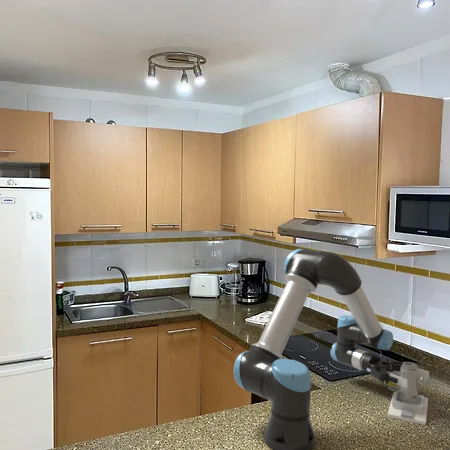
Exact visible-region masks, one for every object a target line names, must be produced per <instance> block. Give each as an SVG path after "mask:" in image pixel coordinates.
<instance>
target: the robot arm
mask: <svg viewBox="0 0 450 450" xmlns="http://www.w3.org/2000/svg"><path fill="white" fill-rule="evenodd" d="M283 265H284V268H283V271H284V275H285V276H284V279H285V281H286V284H285V286H284V288H283V290H282V292H281V294H280V296H279V298H278V300H277V302H276V305H275V307H274V308H273V311H272V313H271V315H270V316H269V319H268V320H267V321H268V322H266V325H265V328H264V329H263V331H262V334H261V336H260V338H259V340H258V341H257V342H256V343H252V344H251V345H250V348H249V349H248V350H246V351H243V352H242V353H241V352H240V353H239V355H237V357H236V359H235V362H234V365H233V375H234V376H233V378H234V381H235V383H236V384H237V386H239V387H240V388H242V389H243V390H245V391H247V392H248V393H252V394H255V395H257V396H259V397H261V398H263V399H266V400H267V401H270V402H271V403H270V407H271V408H270V416H269V418H268V421H267V424H266V426H265V430H264V442H265V443H266V445H267V446H268V447H270V448H271V449H272V450H312V449H314V448H315V444H316V443H315V442H316V435H315V432H314V428H313V424H312V422H311V421H312V420H311V415H310V412H311V391H312V389H311V388H312V380H311V378H312V377H311V372H310V369H309V368H308V366H306V365H305V364H304V363H302V362H300V361H297V360H295V359H289V358H283V356H282V354H283V351H284V350H285V347H286V345H287V343H288V340H289V338H290V336H291V333H292V331H293V329H294V328H295V326H296V323H297V321H298V318H299V317H300V314H301V312H302V310H303V307H304V305H305V304H306V301H307V299H308V296H309V294H312V293H314V292H316V291H317V287H318V285H325V286H328V287H331V288H333V289H334V291H335V293H336V294H337V295H338V296H339V295H340V296H341V297H342V299H343V301H344V303H345V305H346V307H347V308H348V310H349V312H350V313H351V315H347V314H345V315H344V314H343V315H340V316H339V317H338V318H337V327H336V328H337V332H336V333H337V337H336V339H337V341H336V342H335V343H333V344H332V346H331V349H330V357H331V358H332V360H333V361H336V362H338V363H340V364H343V365H345V366H348V367H352V368H355V369H357V370H358V371H359V372H361V371H363V372H365V373H368V374H370V375H372V376H373V377H374V378H375V379H377V380H378V381H380V382H381V383H385V384H386V385H388V383H389V382H392V383H394V384H397V385H400V386H403V387H405V388H408V380H407V379H405V378H402V377H399V376H396V375H393V374H390V376H389V372H393V371H400V372H401V366H402V365H403V362H404V361H396V360H392V359H390V358H389V359H386V360H381V358H380V356H379V355H378V354H376V353H372V352H369V351H366V350H363V349H360V348H357V344H358V345H359V344H360V345H364V346H367V347H371V348H373V349H374V348H375V349H379V350H383V351H389V350H390V349H391V348H392V346H393V343H394V334H393V332H392V331H390V330H387V329H386V328H385V329H384V328H383V326H382V325H381V322H380V321H379V319H378V317H377V315H376V313H375V312H374V309H373V307H372V305H371V303H370V301H369V299H368V298H367V296H366V293H365V291H364V289H363V287H362V283H363V282H362V279H361V277H360V275H359V273H358V271H357V270H356V269H355V267H354V266H353V265H352V264H351V263H350V262H349V261H348V260H347V259H345V258H344V257H343V256H341V255H339V254H338V253H335V252H333V251H322V250H312V249H308V248H303V249H302V248H298V249H294V250H293V251H291V252H290V253H289V254H288V255H287V256H286V259H285V261H284V264H283ZM418 369H419V377H420V378H422V379H426V380H429V379H430V377H429V376H430V371H429V370H425V369H422V368H419V367H418Z"/></svg>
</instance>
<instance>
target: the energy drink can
mask: <svg viewBox="0 0 450 450" xmlns="http://www.w3.org/2000/svg"><path fill="white" fill-rule="evenodd" d="M402 362H403V365H402V366H401V373H400V377H402V378H405V379H407V380H408V388H405V387H403V386H400V402H405V403H410V404H415V405H418V395H419V380H420V379H419V369H420V368H419V367H418V364H417V363H415V362H411V361H402ZM418 368H419V369H418Z"/></svg>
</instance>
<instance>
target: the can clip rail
mask: <svg viewBox="0 0 450 450" xmlns="http://www.w3.org/2000/svg"><path fill="white" fill-rule="evenodd" d="M428 403H429V398H428V397H424V395H421V394H420V395H419V394H418V405H415V404H410V403H405V402H400V391H396V392H395V391H392V397H391V399H390V404H389V407H388V410H387V411H388V412H387V417H388V418H392V419H397V420H401V421H405V422H410V423H414V424H419V425H423V426H426V425H427V417H428Z"/></svg>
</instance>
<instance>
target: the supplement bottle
mask: <svg viewBox="0 0 450 450" xmlns="http://www.w3.org/2000/svg"><path fill="white" fill-rule="evenodd" d="M400 373H401V372H400V371H393V372H388V374H389V376H390V374H393V375H396V376H399V377H400ZM387 388H388V390H390V391H392V392H396V391H400V385H397V384H394V383H392V382H389V383H388V384H387Z"/></svg>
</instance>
